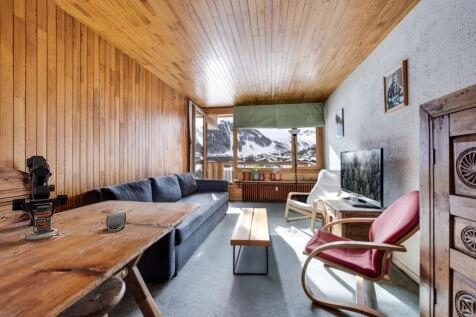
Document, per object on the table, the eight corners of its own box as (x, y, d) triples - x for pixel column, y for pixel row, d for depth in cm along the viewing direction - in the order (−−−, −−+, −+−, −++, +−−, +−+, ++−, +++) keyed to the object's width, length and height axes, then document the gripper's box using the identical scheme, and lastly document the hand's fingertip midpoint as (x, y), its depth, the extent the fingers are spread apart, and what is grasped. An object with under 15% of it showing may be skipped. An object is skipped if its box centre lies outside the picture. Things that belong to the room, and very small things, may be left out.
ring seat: (25, 235, 95) (25, 231, 95) (57, 230, 103) (57, 226, 103) (24, 242, 87) (24, 238, 87) (59, 236, 94) (59, 232, 94)
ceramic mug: (108, 226, 108) (108, 211, 108) (126, 224, 111) (126, 210, 111) (104, 233, 98) (104, 217, 98) (123, 231, 101) (124, 215, 101)
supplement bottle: (35, 235, 91) (35, 208, 91) (31, 232, 94) (31, 206, 94) (53, 231, 96) (53, 206, 96) (48, 228, 99) (49, 204, 99)
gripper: (12, 180, 91) (12, 210, 83) (67, 177, 104) (72, 203, 97) (11, 196, 96) (12, 226, 89) (64, 191, 110) (68, 217, 102)
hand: (43, 217), depth 94 cm, fingers closed on supplement bottle, 6 cm apart
